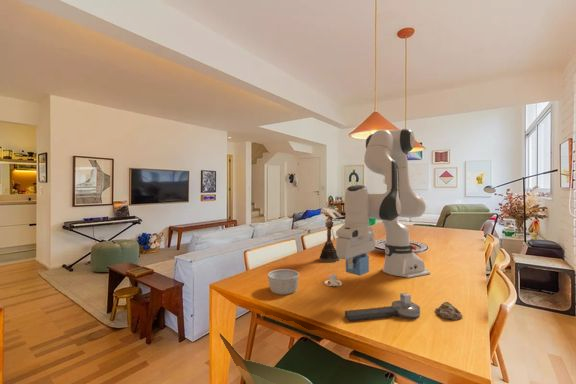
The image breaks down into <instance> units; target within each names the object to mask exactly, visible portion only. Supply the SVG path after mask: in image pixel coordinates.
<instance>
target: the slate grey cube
mask: <svg viewBox="0 0 576 384" xmlns="http://www.w3.org/2000/svg"><path fill="white" fill-rule="evenodd" d="M369 259H370V256H369V255H362V254H361V255H358V256H355V257H353V260H352V262H353V263H354V264H355V266H354V267H355V268H353V269H349V268H348V263H347V261H346V260H345V272H346V273H348V274H352V275H355V276H360V277H361V276H362V275H365V274H367V273H369V272H370V265H369V264H370V260H369Z"/></svg>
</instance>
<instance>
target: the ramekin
mask: <svg viewBox="0 0 576 384" xmlns="http://www.w3.org/2000/svg"><path fill="white" fill-rule="evenodd" d="M299 278H300V274H299V272H298V271H296V270H295V269H288V268H286V269H285V268H282V269H280V268H279V269H275V270H272V271H269V272H268V273H267V279H268V286H269V289H270V291H271V293H274V294H276V295H282V296H283V295H290V294H293V293H295V292H296V291H297V289H298V284H299Z"/></svg>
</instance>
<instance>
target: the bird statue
mask: <svg viewBox="0 0 576 384" xmlns="http://www.w3.org/2000/svg"><path fill="white" fill-rule="evenodd" d="M334 207H335V205H334V204H332V206H330V204H329V202H328V201H326V202H325V207H324V206H323V207H321V210H322V211H324V212H325V213H326V215H327V218H326V220H325V222H324V224H325V227H326V230H327V231H326V237H327V239H326V241H325V242H324V244H323V247H322V249H321V252H320V256H319V260H320V261H321V260H322V261H321V262H324V261H325V262H324V263H336V261H337V262H338V261H340V258H338V256H337V253H336V247H335V246H334V243H333V241H332V228H333V226H334V222H333V221H335V222H337V220H343V219H344V220H345V217H346V214H345V215H342V214H341V213H340V212H338V211H337V210H335V209H334Z"/></svg>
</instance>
